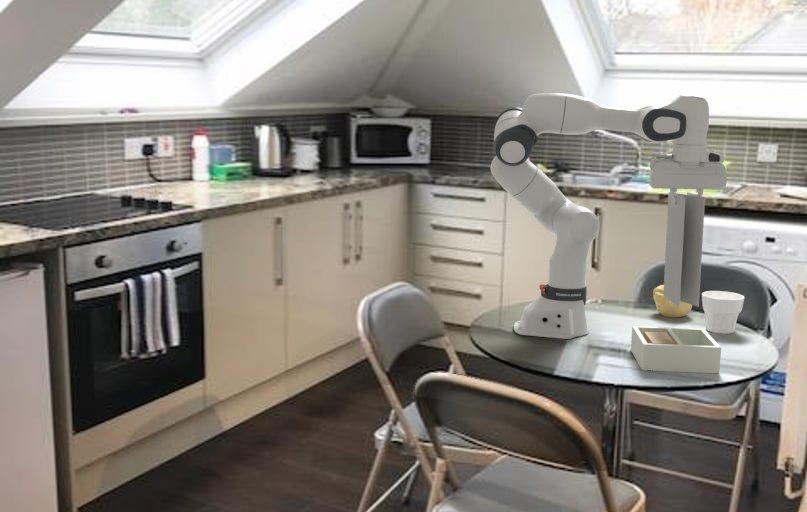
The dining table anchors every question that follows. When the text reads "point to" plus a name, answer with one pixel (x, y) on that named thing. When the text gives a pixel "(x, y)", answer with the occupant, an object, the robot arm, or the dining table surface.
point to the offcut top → (658, 338)
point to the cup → (721, 310)
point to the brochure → (684, 248)
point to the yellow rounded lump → (669, 304)
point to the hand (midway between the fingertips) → (685, 205)
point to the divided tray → (677, 350)
